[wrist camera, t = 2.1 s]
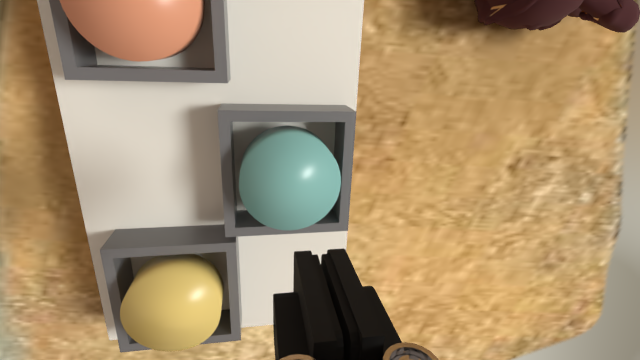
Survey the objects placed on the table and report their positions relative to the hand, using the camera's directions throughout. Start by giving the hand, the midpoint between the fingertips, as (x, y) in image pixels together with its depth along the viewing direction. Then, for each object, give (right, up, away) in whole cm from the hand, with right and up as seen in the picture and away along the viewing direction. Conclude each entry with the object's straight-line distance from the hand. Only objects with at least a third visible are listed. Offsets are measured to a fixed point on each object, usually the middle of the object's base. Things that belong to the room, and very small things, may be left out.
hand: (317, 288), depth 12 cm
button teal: (-2, +4, +10) cm, 11 cm away
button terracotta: (-8, +12, +6) cm, 16 cm away
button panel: (-7, +6, +13) cm, 16 cm away
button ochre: (-9, -4, +11) cm, 15 cm away
